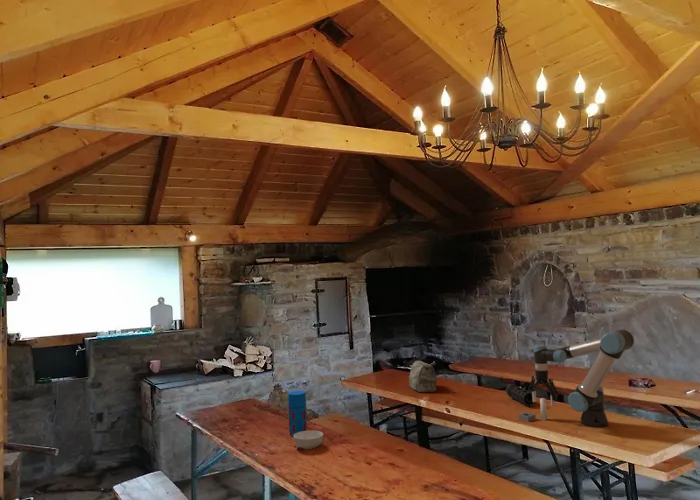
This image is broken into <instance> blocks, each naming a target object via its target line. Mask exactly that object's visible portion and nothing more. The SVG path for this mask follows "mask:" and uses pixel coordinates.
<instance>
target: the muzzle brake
mask: <svg viewBox="0 0 700 500" xmlns="http://www.w3.org/2000/svg"><path fill="white" fill-rule="evenodd" d="M505 391H506V395H507V396H508V397H510V398H511V399H514V401H516V402H520V403H521V404H522V403H523V405H524V406H526V407H528V408H530V407H531V406H533V405H535V403H536V402H533V398H532V395H531V391H529V390H526V389H524V388H522V387H520V386H518V385H516V384H509V385H507V387H506V389H505Z"/></svg>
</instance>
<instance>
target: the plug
mask: <svg viewBox="0 0 700 500" xmlns="http://www.w3.org/2000/svg"><path fill="white" fill-rule="evenodd" d="M539 405H540V407H539V408H540V420H542V421H547V420H548V409H547V398H544V397H541V398H539Z"/></svg>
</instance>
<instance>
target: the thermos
mask: <svg viewBox="0 0 700 500" xmlns="http://www.w3.org/2000/svg"><path fill="white" fill-rule="evenodd" d="M306 396H307V394H306V391H303V390H293V391H289V392H288V393H287V405H288V406H287V407H288V409H287V410H288V429H289V430H288V431H289V436H291V437H294V434H296V433H298V432H301V431H308V427H307V426H308V425H307V424H308V423H307V418H308V417H307V397H306Z"/></svg>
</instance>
